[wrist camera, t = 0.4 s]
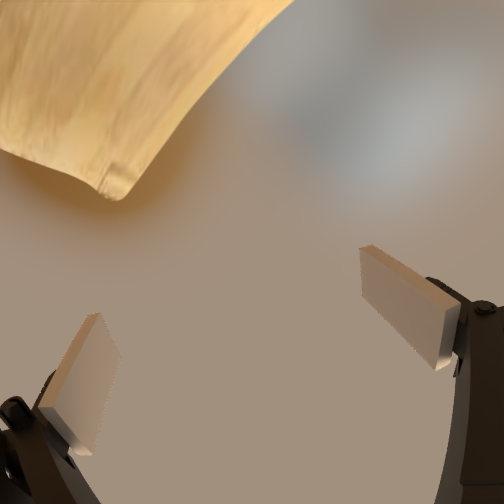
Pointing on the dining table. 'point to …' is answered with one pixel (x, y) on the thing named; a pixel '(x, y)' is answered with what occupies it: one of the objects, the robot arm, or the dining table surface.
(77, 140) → the dining table surface
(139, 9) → the dining table surface
